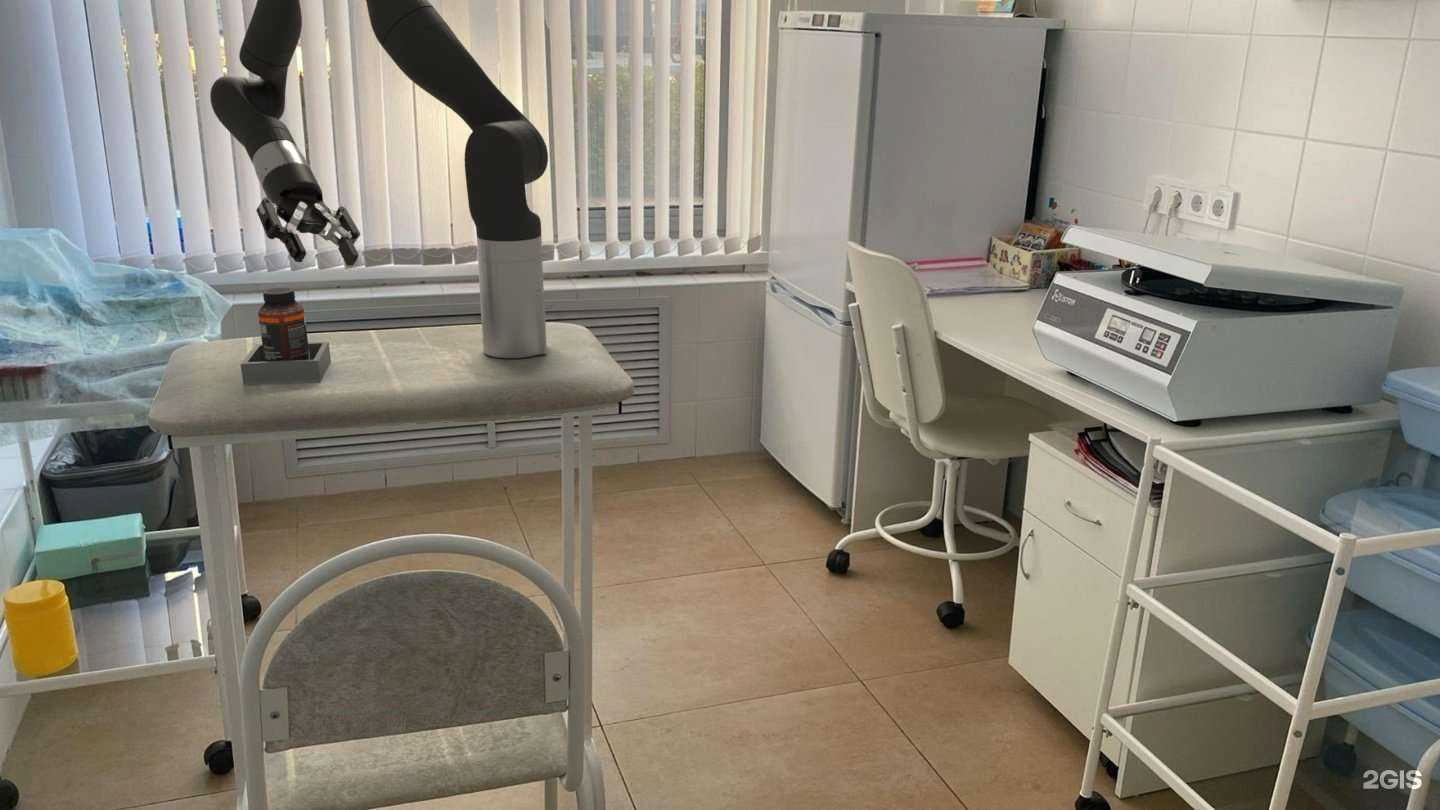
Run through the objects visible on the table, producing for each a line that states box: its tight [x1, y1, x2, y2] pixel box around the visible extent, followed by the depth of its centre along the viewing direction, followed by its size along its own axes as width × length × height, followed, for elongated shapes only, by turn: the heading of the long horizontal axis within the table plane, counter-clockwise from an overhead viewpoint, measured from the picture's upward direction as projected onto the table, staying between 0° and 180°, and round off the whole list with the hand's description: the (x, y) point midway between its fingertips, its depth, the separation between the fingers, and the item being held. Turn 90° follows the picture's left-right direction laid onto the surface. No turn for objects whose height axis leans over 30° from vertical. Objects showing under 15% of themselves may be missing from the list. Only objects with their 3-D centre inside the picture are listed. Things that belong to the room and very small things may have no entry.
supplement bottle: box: [257, 287, 310, 361], centre depth 156 cm, size 6×6×11 cm
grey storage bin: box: [240, 341, 332, 386], centre depth 158 cm, size 10×10×3 cm
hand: (327, 260), depth 166 cm, fingers open, 8 cm apart
